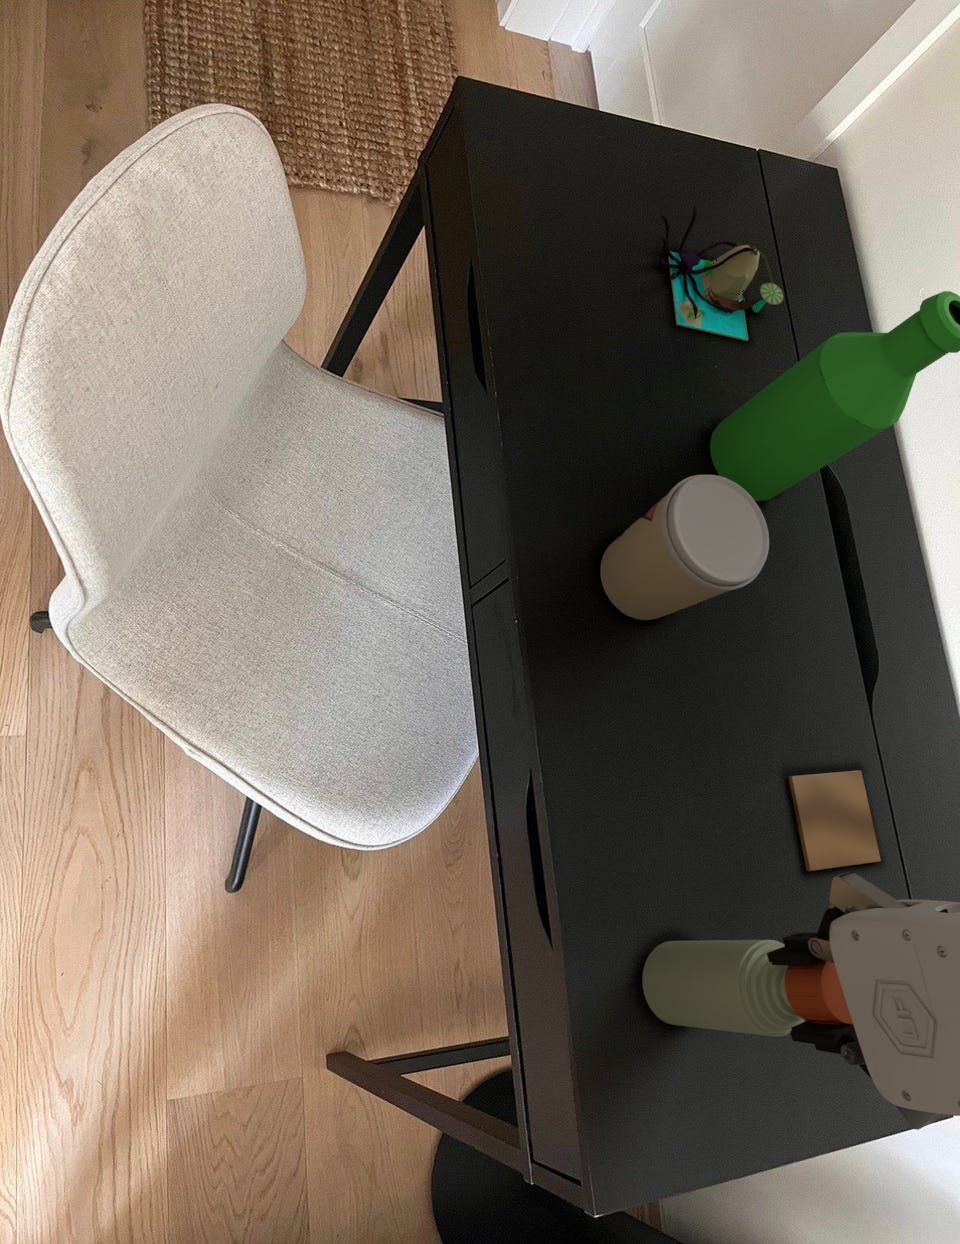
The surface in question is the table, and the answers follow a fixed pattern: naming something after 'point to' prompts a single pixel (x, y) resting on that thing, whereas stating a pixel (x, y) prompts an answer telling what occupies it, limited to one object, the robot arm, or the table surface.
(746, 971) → the sauce bottle
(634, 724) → the table surface
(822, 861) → the coaster
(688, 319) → the diorama
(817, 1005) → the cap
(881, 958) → the robot arm
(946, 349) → the bottle
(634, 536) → the coffee cup
